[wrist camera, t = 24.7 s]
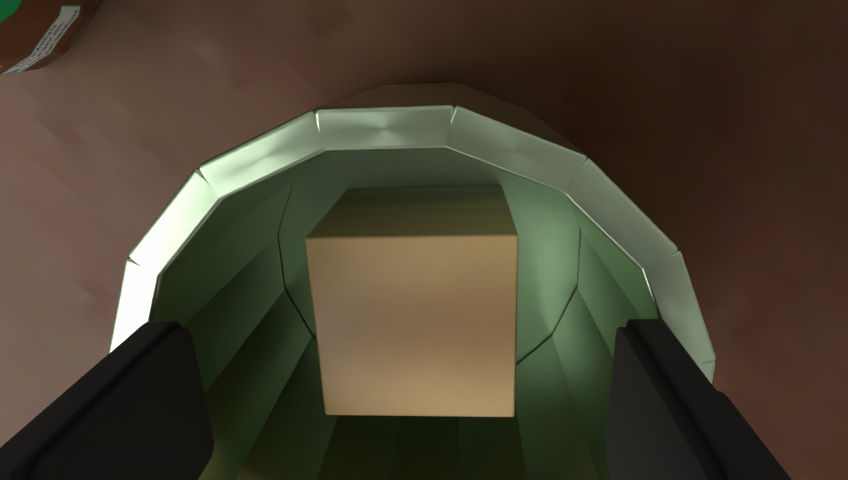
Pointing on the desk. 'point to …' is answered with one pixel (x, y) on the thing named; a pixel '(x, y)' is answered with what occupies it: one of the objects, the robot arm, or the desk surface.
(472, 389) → the block
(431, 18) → the desk surface
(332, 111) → the tin
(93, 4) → the food container
